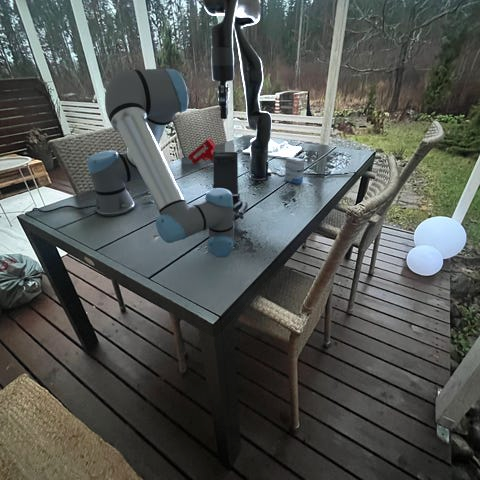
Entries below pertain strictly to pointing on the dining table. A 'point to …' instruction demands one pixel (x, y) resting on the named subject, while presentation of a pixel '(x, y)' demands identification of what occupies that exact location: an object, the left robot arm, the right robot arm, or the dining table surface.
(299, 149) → the relief map
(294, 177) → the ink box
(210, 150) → the toy gun
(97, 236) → the dining table surface
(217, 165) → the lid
